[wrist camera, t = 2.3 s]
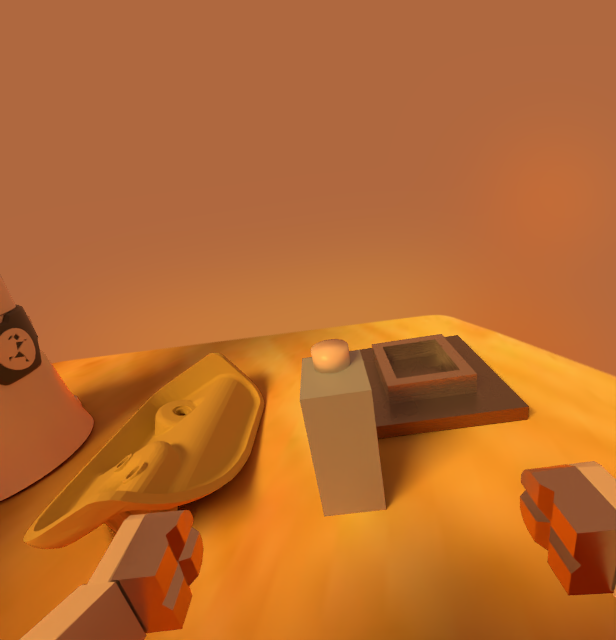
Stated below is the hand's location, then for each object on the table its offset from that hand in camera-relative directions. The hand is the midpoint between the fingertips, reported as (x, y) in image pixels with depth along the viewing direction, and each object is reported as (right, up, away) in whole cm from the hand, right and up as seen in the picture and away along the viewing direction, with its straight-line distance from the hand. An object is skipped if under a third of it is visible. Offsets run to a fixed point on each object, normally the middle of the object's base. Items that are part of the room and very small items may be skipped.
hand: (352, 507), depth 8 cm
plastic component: (-12, -8, +21) cm, 25 cm away
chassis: (+10, -2, +26) cm, 28 cm away
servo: (+2, -7, +16) cm, 17 cm away
